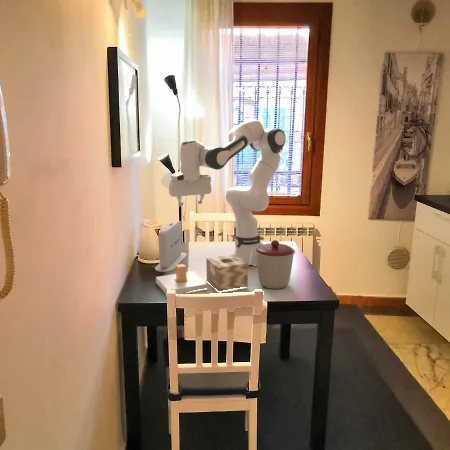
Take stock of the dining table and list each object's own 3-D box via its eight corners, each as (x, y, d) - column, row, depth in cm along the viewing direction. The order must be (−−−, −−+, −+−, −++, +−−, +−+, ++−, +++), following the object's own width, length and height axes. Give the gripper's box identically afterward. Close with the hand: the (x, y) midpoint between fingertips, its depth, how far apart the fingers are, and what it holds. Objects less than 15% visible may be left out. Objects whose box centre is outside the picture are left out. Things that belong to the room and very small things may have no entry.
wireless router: (171, 272, 227) (170, 233, 222) (152, 271, 229) (150, 232, 224) (188, 253, 256) (188, 218, 251) (171, 252, 258) (170, 217, 253)
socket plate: (192, 277, 220) (192, 271, 220) (207, 290, 204) (207, 283, 204) (156, 283, 213) (156, 276, 212) (168, 297, 197) (168, 290, 196)
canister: (255, 277, 220) (255, 234, 215) (293, 278, 218) (294, 235, 213) (253, 291, 203) (253, 245, 198) (294, 293, 201) (296, 247, 196)
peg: (184, 284, 211) (183, 263, 209) (186, 287, 208) (186, 266, 205) (176, 285, 210) (175, 265, 207) (179, 288, 206) (178, 267, 204)
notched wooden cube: (234, 278, 218) (234, 254, 215) (247, 288, 206) (247, 263, 203) (206, 283, 213) (206, 258, 210) (219, 293, 200) (218, 267, 197)
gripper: (208, 173, 222) (208, 201, 225) (167, 175, 213) (168, 205, 217) (213, 174, 216) (213, 203, 219) (171, 177, 208) (172, 207, 211)
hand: (190, 204), depth 218 cm, fingers open, 8 cm apart
